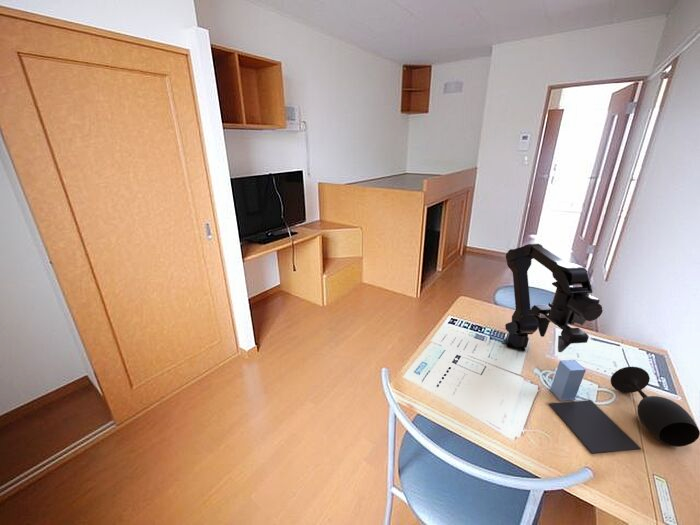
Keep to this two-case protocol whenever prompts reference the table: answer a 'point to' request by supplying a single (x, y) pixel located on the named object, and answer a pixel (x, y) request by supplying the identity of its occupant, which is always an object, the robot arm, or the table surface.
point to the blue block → (567, 379)
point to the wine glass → (657, 410)
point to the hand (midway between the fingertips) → (550, 343)
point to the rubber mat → (593, 427)
